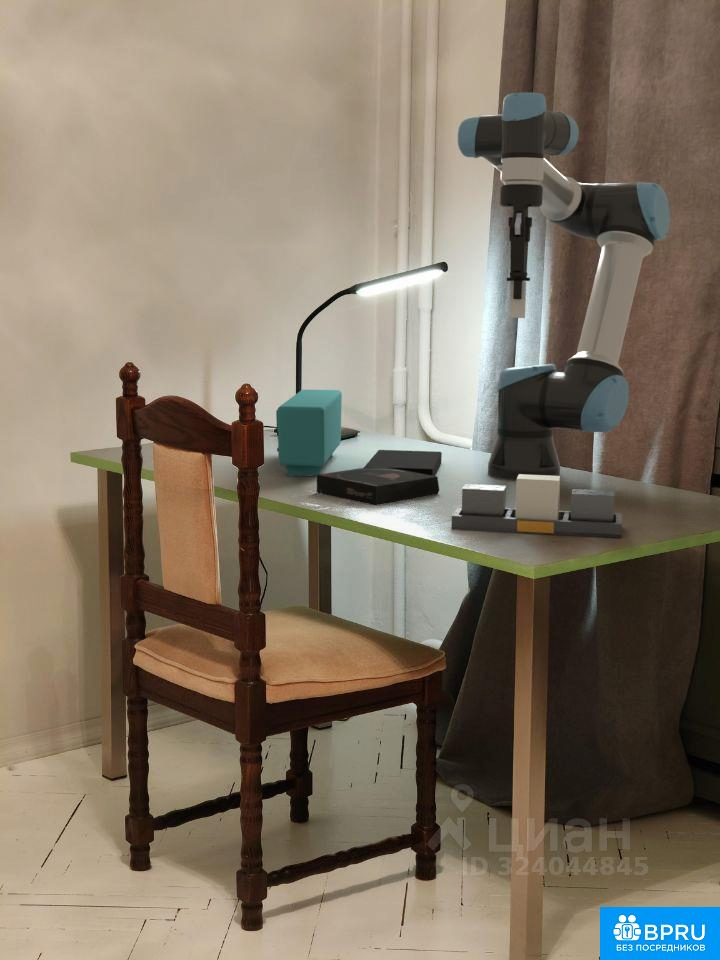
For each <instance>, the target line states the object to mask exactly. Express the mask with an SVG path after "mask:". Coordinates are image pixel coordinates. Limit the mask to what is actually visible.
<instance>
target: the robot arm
mask: <svg viewBox="0 0 720 960" xmlns="http://www.w3.org/2000/svg"><path fill="white" fill-rule="evenodd" d="M579 135H580V134H579V126H578V124H577V122H576V121H575V119H574V118H573V117H571V116H570V115H567V114H565V113H564V112H561V111H553V110H548V109H547V101H546V97H545V95H544V94H542V93H539V92H513V93H509V94H507V95H506V96H505V97H504V98H503V103H502V111H501V114H493V115H483V114H480V115H478V116H472V117H470V116H469V117H466V118H464V119H463V120H462V121H461V122H460V124H459V126H458V131H457V135H456V140H457V146H458V150H459V151H460V153H461V154H462V156H464V157H466V158H474V159H479V158H482V159H485V161H487V162H488V163H489V164H490V165H492V166H493V168H496V170H498V171H499V172H500V182H502V183H503V185H502V184H501V186H500V187H499V188H500V189H499V205H500V206H501V207H502V208H503V207H504V208H512V216H508V225H507V226H508V227H509V238H508V239H509V242H510V271H509V277H506V281H507V282H510V286H509V288H510V289H509V319H525V318H526V301H527V300H526V299H527V298H526V295H527V282H530V281H531V277H528V257H529V256H528V255H529V242H530V241H531V228H532V227H533V217H531V216H529V208H538V207H539V210H540V212H541V214H542V215H543V216H544V217H545V218H546V219H548V221H550V222H551V223H552V224H554V225H556V226H557V227H559V228H561V229H562V230H564V231H566V232H568V233H570V234H571V235H572V234H573V235H575V236H577V237H579V238H583V239H587V240H596V242H597V244H598V246H599V247H600V248H601V252H600V256H599V260H598V265H597V268H596V273H595V277H594V281H593V284H592V289H591V292H590V298H589V302H588V306H587V309H586V313H585V318H584V322H583V325H582V329H581V334H580V338H579V341H578V345H577V351H576V354H575V355H573V356H572V357H570V358H568V359H567V361H566V365H565V368H564V371H557V367H556V365H555V364H554V363H549V364H548V363H547V364H535V365H526V366H516V367H507V368H504V369H503V370H501V372H500V374H499V377H498V378H499V380H498V387H497V392H498V393H497V435H496V441H495V444H494V445H493V449H492V450H491V451H492V452H491V454H490V456H489V460H488V465H487V474H488V475H489V476H491V477H495V478H499V479H504V480H513V481H515V480H516V481H517V477H518V475H519V474H526V475H548V476H560V477H561V463H560V461H559V457H558V452H557V449H556V447H555V442H554V429H559V430H568V431H579V432H586V433H592V434H593V433H609V432H611V431H613V430H614V429H615V428H617V427H618V425H619V424H620V423H621V422H622V420H623V418H624V417H625V414H626V412H627V408H628V405H629V398H630V396H629V393H630V387H629V383H628V381H627V379H626V378H625V377H624V370H623V369H622V368H621V366H620V364H619V360H620V356H621V352H622V348H623V343H624V340H625V339H624V338H625V336H626V335H625V334H626V331H627V327H628V324H629V323H628V322H629V318H630V314H631V309H632V305H633V301H634V297H635V293H636V289H637V284H638V280H639V276H640V272H641V269H642V263H643V260H644V258H645V257H647V256H649V255H651V253H652V252H653V250H654V245H655V241H658V242H659V241H660V242H661V241H662V240H664V239H665V238H666V237H667V236H668V234H669V231H670V226H671V224H670V223H671V212H670V211H671V210H670V204H669V200H668V196H667V194H666V192H665V190H664V188H663V187H662V185H660V184H658V183H656V182H642V181H638V182H623V183H622V182H619V183H616V182H615V183H585V182H584V183H582V182H578V181H577V180H575V178H573V177H571V176H564V175H563V174H562V173H561V172H560V171H558V170H557V169H556V168H555V167H554V166H553V164H551V163H550V162H549V161H548V160H547V159H546V158H545V157H544V155H549V156H562V155H566V154H568V153H570V152H571V151H572V150H573V149H574V148H575V147H576V144H577V142H578V140H579Z"/></svg>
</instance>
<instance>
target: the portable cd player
mask: <svg viewBox="0 0 720 960" xmlns="http://www.w3.org/2000/svg"><path fill="white" fill-rule="evenodd" d="M317 492H318V493H317ZM439 492H440V486H439V478H438V476H436V475H435V476H432V475H426V474H421V473H415V472H410V471H404V470H399V469H393V468H388V467H382V466H373V467H366V468H364V467H362V468H354V469H346V470H339V471H333V472H327V473H319V474H318V475H317V476H316V493H317V494H320V493H322V495H325V494H326V495H325V496H329V495H330V496H329V497H335V498H340V499H343V500H344V499H345V500H349V501H353V502H358V503H363V504H368V505H371V506H381V504H382V505H386V504H391V503H399V502H403V501H409V500H415V499H419V498H425V497H426V498H427V497H431V496H437V495H439Z"/></svg>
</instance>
